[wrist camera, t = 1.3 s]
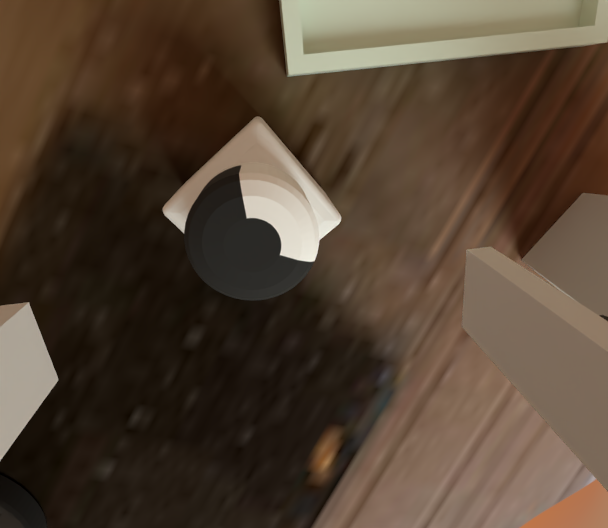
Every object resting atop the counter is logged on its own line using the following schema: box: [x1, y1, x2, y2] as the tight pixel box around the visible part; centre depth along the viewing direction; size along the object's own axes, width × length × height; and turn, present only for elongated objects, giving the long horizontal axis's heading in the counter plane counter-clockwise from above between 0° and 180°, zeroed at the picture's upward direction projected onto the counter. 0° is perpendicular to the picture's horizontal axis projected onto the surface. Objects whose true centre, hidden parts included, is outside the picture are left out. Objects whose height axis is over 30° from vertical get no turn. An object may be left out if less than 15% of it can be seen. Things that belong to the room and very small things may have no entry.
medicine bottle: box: [163, 116, 341, 300], centre depth 23 cm, size 7×7×12 cm
